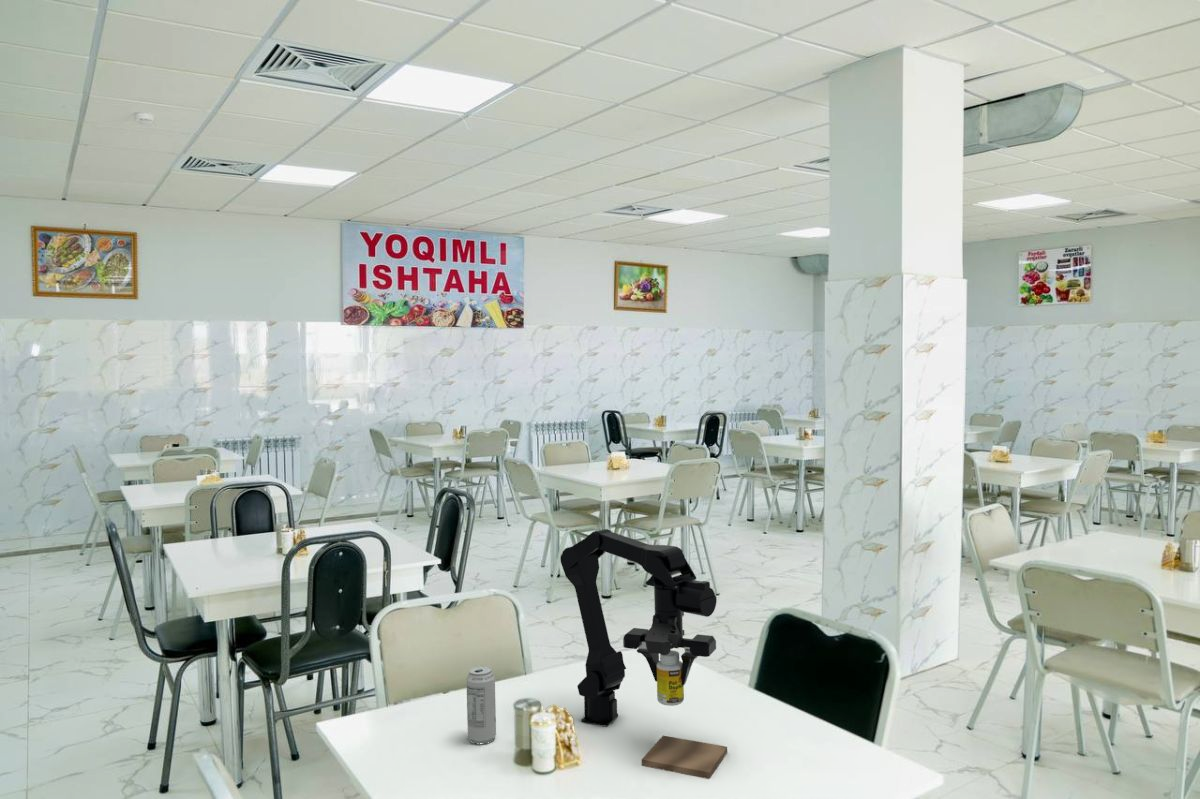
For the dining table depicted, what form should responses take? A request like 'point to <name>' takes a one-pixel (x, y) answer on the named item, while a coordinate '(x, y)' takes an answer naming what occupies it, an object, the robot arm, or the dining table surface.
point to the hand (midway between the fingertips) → (670, 682)
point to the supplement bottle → (670, 679)
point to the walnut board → (685, 756)
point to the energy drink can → (481, 704)
